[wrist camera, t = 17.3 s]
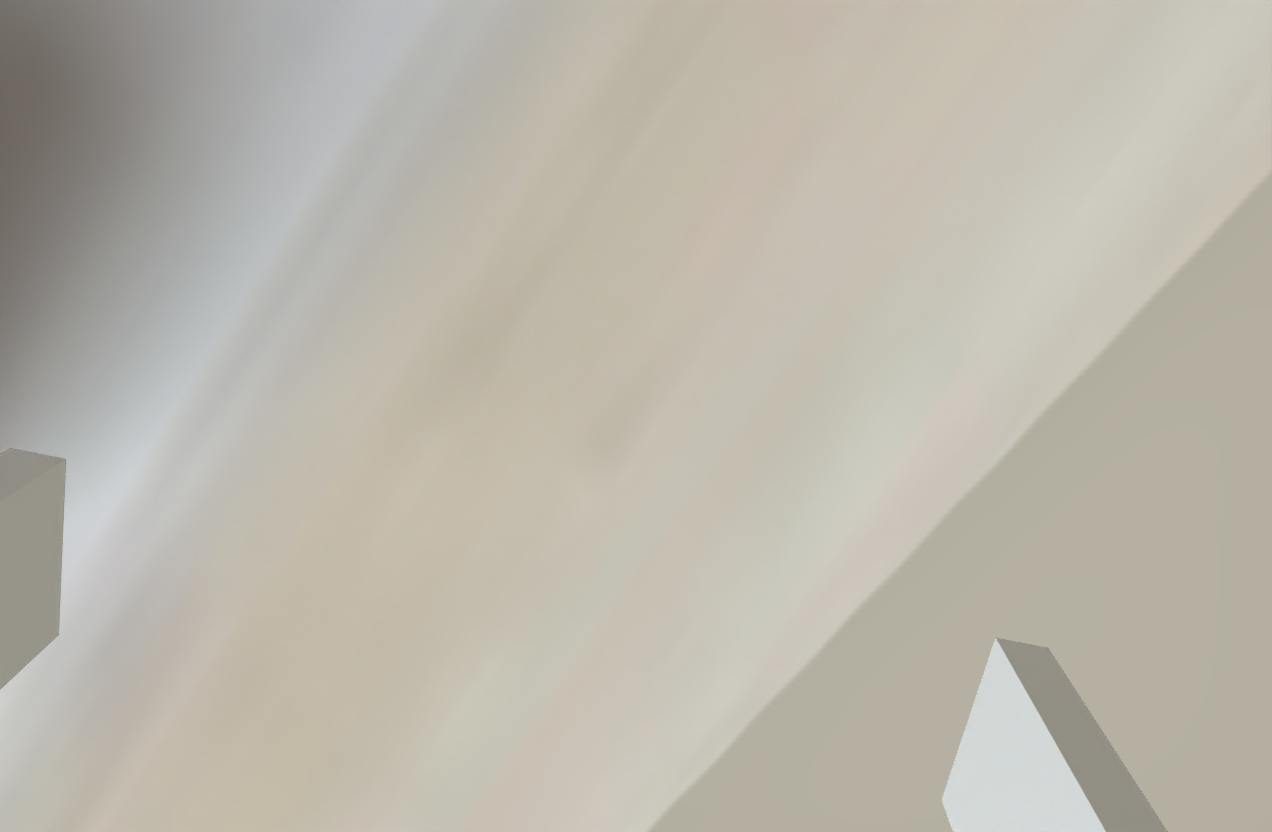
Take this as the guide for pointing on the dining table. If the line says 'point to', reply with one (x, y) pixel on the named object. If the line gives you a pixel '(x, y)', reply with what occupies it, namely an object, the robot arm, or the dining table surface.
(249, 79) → the dining table surface
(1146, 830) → the robot arm
